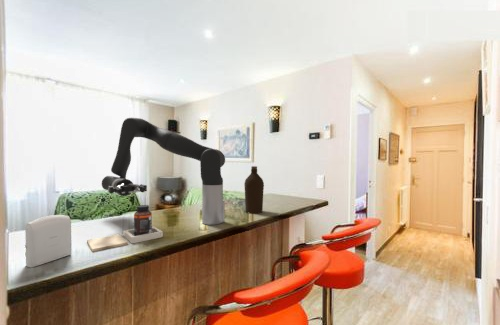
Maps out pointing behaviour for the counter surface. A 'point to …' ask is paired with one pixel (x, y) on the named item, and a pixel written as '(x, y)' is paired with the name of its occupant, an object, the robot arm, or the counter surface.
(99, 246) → the pad
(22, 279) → the counter surface
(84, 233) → the counter surface
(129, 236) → the white square tray
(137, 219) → the supplement bottle
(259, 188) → the olive oil
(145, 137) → the robot arm
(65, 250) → the photo printer
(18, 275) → the counter surface
